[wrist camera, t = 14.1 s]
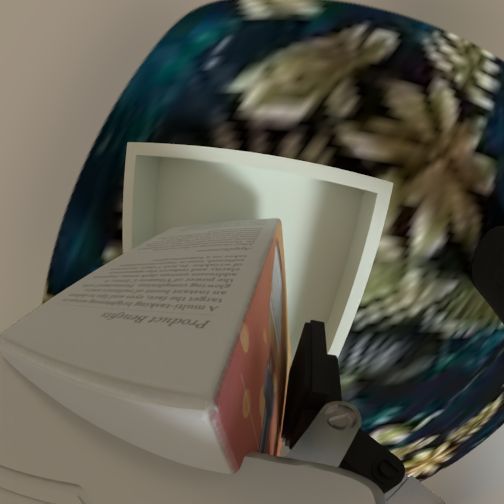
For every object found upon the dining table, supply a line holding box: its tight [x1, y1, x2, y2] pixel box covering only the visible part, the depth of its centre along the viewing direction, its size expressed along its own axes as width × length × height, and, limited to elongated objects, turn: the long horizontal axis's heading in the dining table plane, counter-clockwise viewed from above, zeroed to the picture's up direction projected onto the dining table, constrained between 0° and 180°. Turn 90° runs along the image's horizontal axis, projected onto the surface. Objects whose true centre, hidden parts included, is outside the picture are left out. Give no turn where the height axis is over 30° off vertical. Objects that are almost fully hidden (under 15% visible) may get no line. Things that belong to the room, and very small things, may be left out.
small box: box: [0, 218, 291, 474], centre depth 9 cm, size 8×6×10 cm
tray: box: [123, 142, 393, 367], centre depth 14 cm, size 12×14×3 cm
